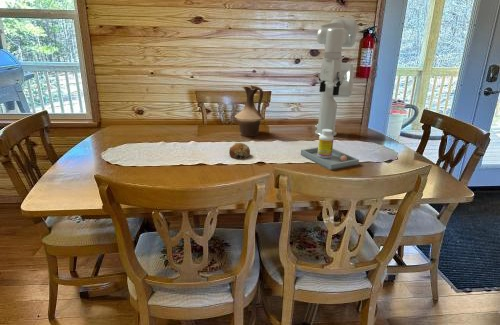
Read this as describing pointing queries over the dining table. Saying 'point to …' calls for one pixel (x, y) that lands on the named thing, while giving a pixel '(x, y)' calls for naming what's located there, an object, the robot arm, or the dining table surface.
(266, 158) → the dining table surface
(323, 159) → the tray
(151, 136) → the dining table surface
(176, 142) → the dining table surface
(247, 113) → the pitcher
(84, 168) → the dining table surface
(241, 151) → the bread roll
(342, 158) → the ball
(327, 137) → the supplement bottle
